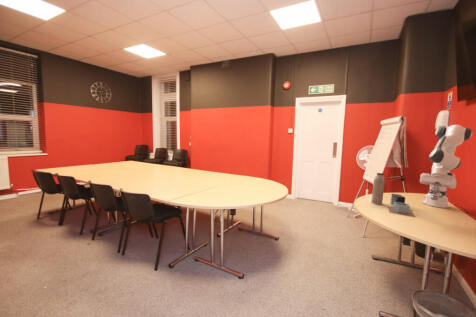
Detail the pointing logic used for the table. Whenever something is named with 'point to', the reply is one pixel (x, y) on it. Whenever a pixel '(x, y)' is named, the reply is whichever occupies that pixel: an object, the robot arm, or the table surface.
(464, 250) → the table surface
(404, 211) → the utensil crock
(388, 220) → the table surface
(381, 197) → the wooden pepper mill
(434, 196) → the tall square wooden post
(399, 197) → the small box
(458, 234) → the table surface
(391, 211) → the serving board
